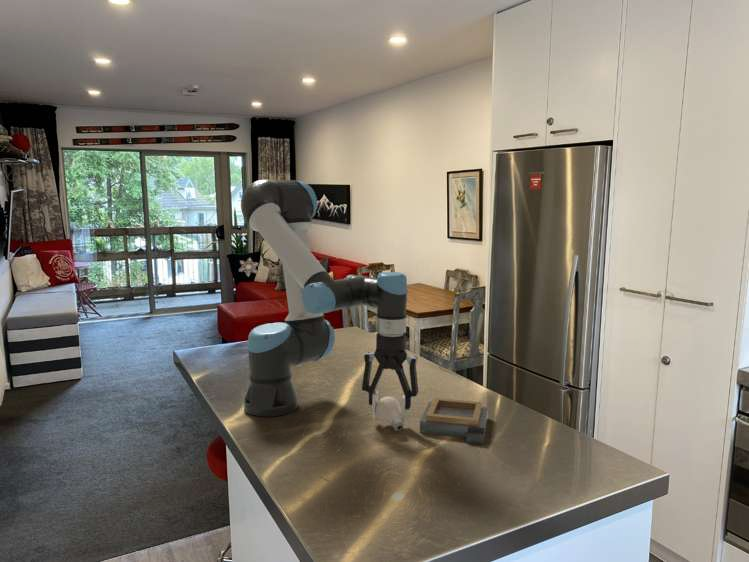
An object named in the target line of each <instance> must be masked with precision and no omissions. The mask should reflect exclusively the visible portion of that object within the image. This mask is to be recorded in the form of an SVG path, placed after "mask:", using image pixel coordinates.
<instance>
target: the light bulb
mask: <svg viewBox="0 0 749 562" xmlns="http://www.w3.org/2000/svg"><path fill="white" fill-rule="evenodd" d="M376 412H377V417H378V418H379V419H380V420H381V421H382V422H385V423H388V424H389V425H390V426H391V427H393V430H394V431H397V432H398V431H402V430H403V428H404V426H405V424H404V423H405V422H404V423H403V422H402V406H401V404H400V401H398V400H397V399H396V398H395V397H393V396H384V397H382V398H380V399H378V403H377V406H376Z"/></svg>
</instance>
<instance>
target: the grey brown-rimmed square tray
mask: <svg viewBox="0 0 749 562" xmlns="http://www.w3.org/2000/svg"><path fill="white" fill-rule="evenodd" d="M488 419H489V407H486V406H483V402H482V401H473V400H461V399H451V398H439V397H434V398H433V400H432V401H429V402H428V404H427V405H426V408H425V410H424V412H423V414H422V416H421V418H420V421H419V433H420V434H421V433H422V434H423V433H424V434H430V435H442V436H449V437H457V438H465V443H466V444H476V445H484V439H485V436H486V435H485V434H486V430H487V429H486V428H487V424H488Z"/></svg>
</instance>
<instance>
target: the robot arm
mask: <svg viewBox="0 0 749 562" xmlns="http://www.w3.org/2000/svg"><path fill="white" fill-rule="evenodd" d="M240 208H241V209H240V210H241V213H242V217H243V218H244V220H245V222H246V223H247V225H248V227H250V229H251V230H253V231H255V232H258V233H259V235H261V237H262V238H263V239H264V241H265V242H266V244H267V245H268V246H269V247H270V249H271V250H272V251H273V253H275V255H276V256H277V258H278V259H279V260H280V261H281V263H282V268H283V276H284V285H285V291H286V298H287V307H288V314H287V316H286V318H284V322H279V321H278V322H273V323H264V324H261V325H258V326H256V327H253V329H251V330H250V332H249V334H248V339H247V340H248V341H247V349H248V372H249V373H248V375H249V376H248V377H249V378H248V379H249V381H248V386H247V389H246V393H245V397H244V400H243V410H244V412H245V413H247V414H248V415H251V416H255V417H260V418H261V417H269V418H270V417H278V416H279V417H280V416H284V415H288V414H290V413H293V412H294V411H296V410H297V409H298V407H299V398H298V394H297V392H296V388H295V386H294V384H293V380H292V367H296V366H299V365H303V364H306V363H309V362H317V361H319V360H320V359H323V358H326V357H327V356H329V354H331V351H333V348H334V346H335V341H336V339H335V338H336V336H335V330H334V327H333V326H331V325H332V324H331V322H329V320H327V319H325V314H328V313H330V312H334V311H339V310H344V309H345V310H346V309H350V308H355V307H361V306H365V307H370V308H376V332H377V334H376V335H375V337H376V339H375V342H376V343H375V344H376V345H375V351H374V352H370V351H367V352H366V353H365V354H364V355H363V359H364V364H365V365H364V370H363V379H362V383H361V384H362V385H361V390H362V391H363V392H367V393H368V405H369V406H372V407H371V408H372V409H371V411H372V413H371V415H372V416H371V417H372V418H371V419H374V420H375V419H376V418H377V417H378V415H377V412H376V406H377V403H378V401H379V391H376V388H377V386H378V385H379V381H380V379H381V377H382V374H383V372H384V370H392V371H394V372H395V373H396V375H397V377H398V379H399V383H400V385H401V389H402V392H403V396H402V397H401V419H402V422H403V423H405V422H406V420H407V418H408V417H407V416H408V415H407V414H408V411H407V410H410V408H411V406H412V398H413V397H417V395H418V393H419V385H418V384H419V383H418V374H417V364H418V363H417V362H418V357H417V356H411V355H408V352H407V350H406V343H407V342H406V341H407V340H406V339H407V338H406V337H407V335H406V334H405V333H406V332H407V300H408V282H407V281H408V279H407V275H406V274H404V273H402V272H397V271H383V272H382V271H381V272H379V273H378V274H377V277H371V276H366V275H365V276H364V275H361V274H357V275H356V274H349V275H346V277H344V278H341V279H334V278H333V277H332V276H331V275H330V273H329V272H328V271H327V270H326V269H325V268H324V266H323V265H322V264H321V263H320V262H319V260H318V258H316V256H314V254H313V253H312V251H311V246H310V241H309V232H308V230H309V229H310V227H311V226H312V224H313V223H312V218H314V216H315V215H316V213H317V210H318V199H317V196H316V192H315V191H314V189H313V188H312V186H310V185H309V184H308V183H306V182H305V181H299V180H295V179H291V180H289V179H288V180H287V179H285V180H284V179H282V180H281V179H260V180H259V179H258V180H255V181H254V182H252V183H250V184H249V185H248V186H247V187H246V188H245V190H244V191H243V193H242V196H241V199H240ZM375 359H376V361H377V363H378V367H377V369H376V372H375V374H374V377H373V379H372V381H371V374H372V367H373V366H372V365H373V361H374V360H375ZM405 361H406V362H407V365H408V366H409V368H408V369H409V379H410V380H409V381H410V384H409V382H408V379H407V375H406V373H405V370H404V366H403V364H404V362H405ZM370 381H371V384H370Z"/></svg>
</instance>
